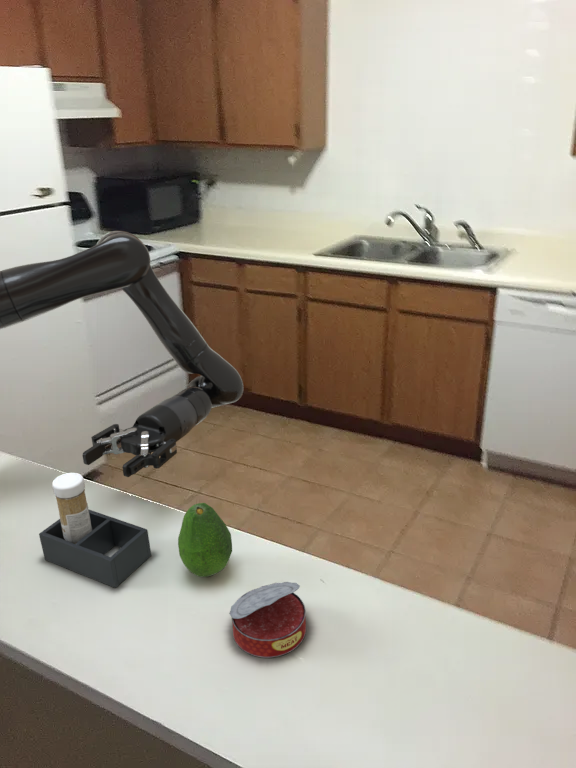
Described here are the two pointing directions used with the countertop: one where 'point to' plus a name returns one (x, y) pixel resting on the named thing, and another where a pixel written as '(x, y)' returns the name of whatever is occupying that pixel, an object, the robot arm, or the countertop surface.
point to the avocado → (204, 541)
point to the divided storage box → (99, 549)
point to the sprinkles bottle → (72, 506)
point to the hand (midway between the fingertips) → (104, 465)
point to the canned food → (269, 620)
